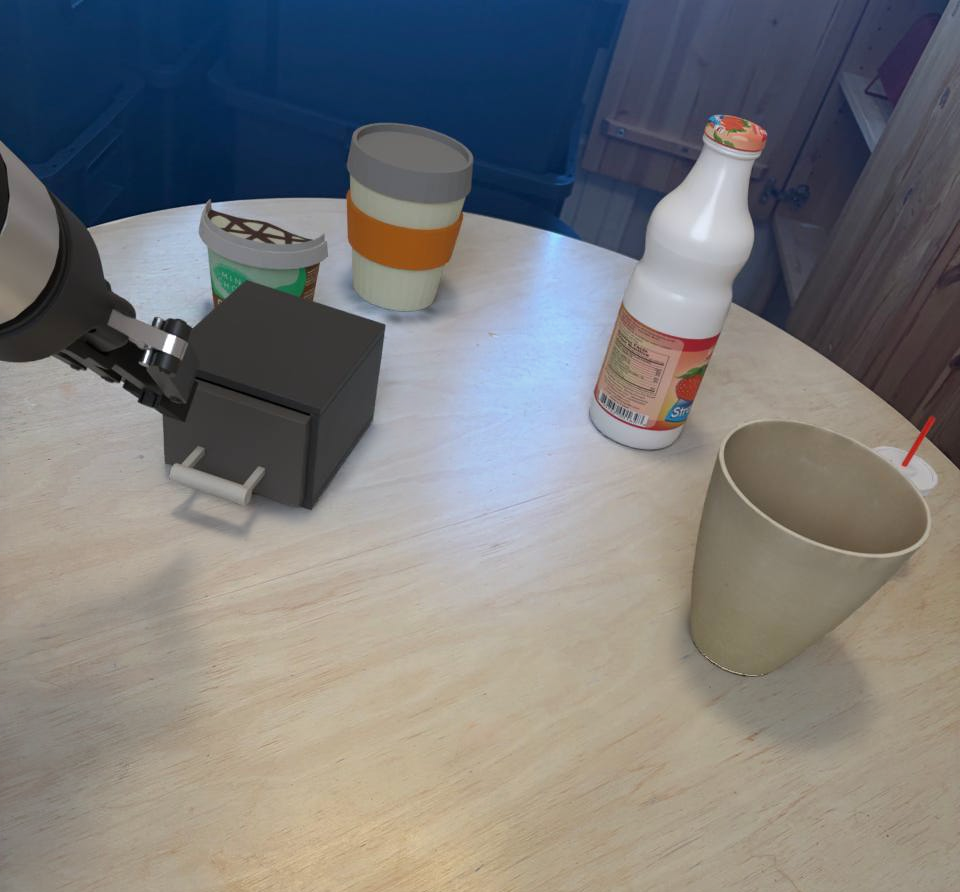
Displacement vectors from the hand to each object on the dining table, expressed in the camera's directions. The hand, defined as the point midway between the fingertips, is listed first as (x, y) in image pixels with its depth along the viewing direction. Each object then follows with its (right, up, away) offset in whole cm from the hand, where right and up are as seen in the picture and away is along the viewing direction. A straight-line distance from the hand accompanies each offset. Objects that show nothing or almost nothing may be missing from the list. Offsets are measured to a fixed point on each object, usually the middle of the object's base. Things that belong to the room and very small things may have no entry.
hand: (181, 399), depth 64 cm
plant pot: (+40, -16, +14) cm, 45 cm away
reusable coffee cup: (+10, +22, +43) cm, 50 cm away
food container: (-3, +15, +32) cm, 36 cm away
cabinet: (+2, +2, +20) cm, 21 cm away
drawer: (+1, 0, +17) cm, 17 cm away
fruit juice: (+35, +6, +34) cm, 48 cm away
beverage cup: (+54, -7, +26) cm, 60 cm away
